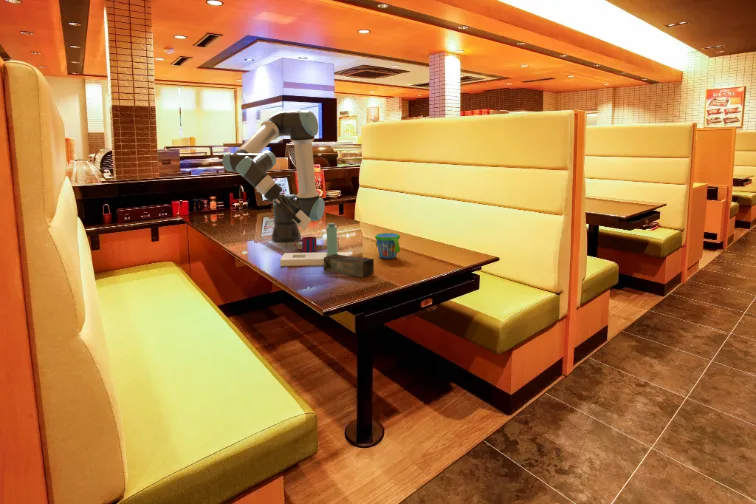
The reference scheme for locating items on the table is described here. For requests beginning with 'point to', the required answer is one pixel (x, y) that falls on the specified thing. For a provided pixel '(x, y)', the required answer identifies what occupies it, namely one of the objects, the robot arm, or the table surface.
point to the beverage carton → (349, 265)
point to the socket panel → (305, 258)
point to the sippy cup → (387, 245)
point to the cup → (308, 244)
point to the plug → (331, 239)
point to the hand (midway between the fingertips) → (307, 225)
